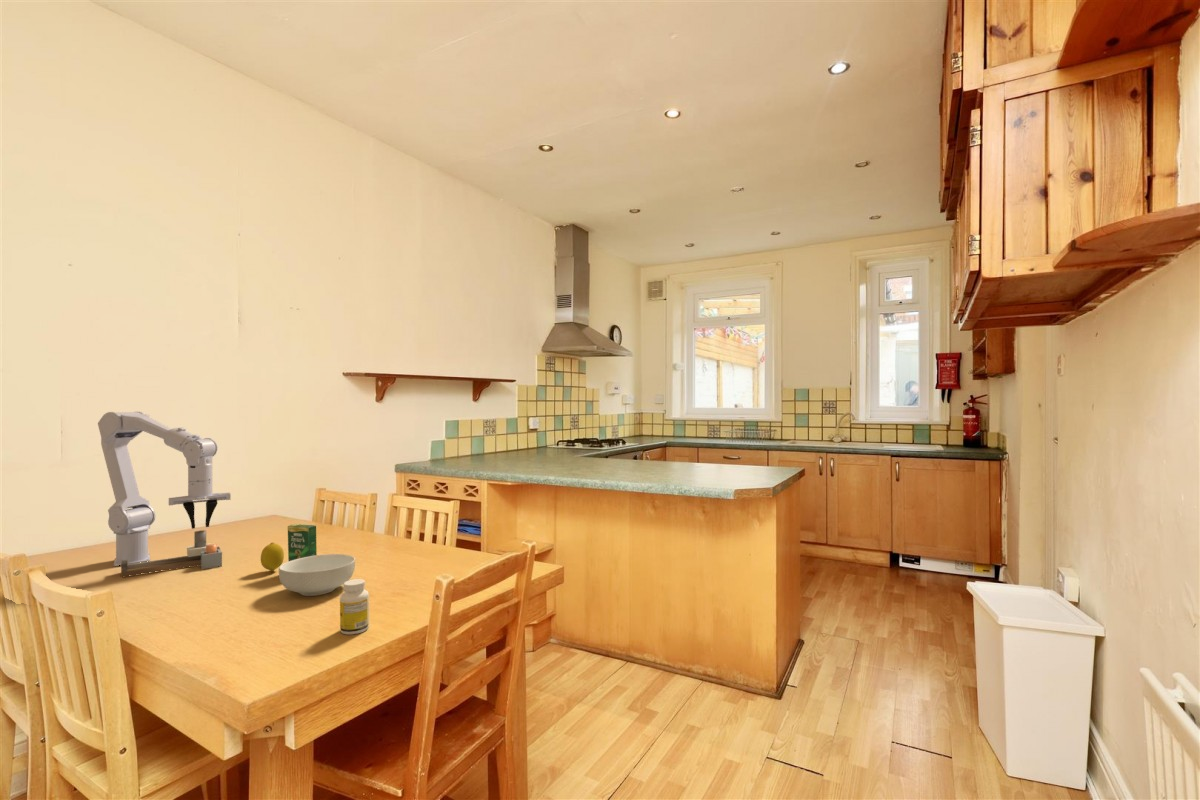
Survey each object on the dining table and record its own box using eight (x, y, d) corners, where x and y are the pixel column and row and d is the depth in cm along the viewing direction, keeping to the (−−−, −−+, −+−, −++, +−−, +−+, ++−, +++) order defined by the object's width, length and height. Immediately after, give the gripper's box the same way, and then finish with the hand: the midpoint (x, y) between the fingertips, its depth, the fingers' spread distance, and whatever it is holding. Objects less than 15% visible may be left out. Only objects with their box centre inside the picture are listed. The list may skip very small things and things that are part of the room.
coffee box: (286, 573, 150) (286, 525, 150) (296, 570, 153) (296, 522, 153) (308, 576, 147) (308, 527, 147) (317, 573, 150) (317, 525, 150)
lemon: (273, 575, 148) (273, 545, 148) (255, 574, 150) (255, 544, 150) (288, 569, 154) (288, 540, 154) (271, 568, 155) (271, 539, 155)
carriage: (187, 553, 160) (187, 531, 160) (212, 549, 164) (212, 528, 164) (188, 557, 156) (188, 534, 156) (213, 553, 160) (213, 531, 160)
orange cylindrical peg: (205, 557, 157) (205, 544, 157) (216, 555, 159) (216, 543, 159) (206, 559, 155) (206, 546, 155) (217, 557, 157) (217, 545, 157)
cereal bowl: (370, 583, 141) (370, 555, 141) (317, 606, 126) (317, 575, 126) (318, 577, 147) (318, 550, 147) (262, 598, 131) (261, 568, 131)
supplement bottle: (345, 625, 115) (345, 578, 115) (372, 624, 115) (372, 577, 115) (335, 636, 109) (335, 586, 109) (363, 634, 110) (363, 585, 110)
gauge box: (200, 565, 157) (200, 551, 157) (220, 562, 160) (220, 549, 160) (202, 569, 154) (202, 555, 154) (221, 566, 157) (221, 552, 157)
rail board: (121, 572, 151) (121, 559, 151) (218, 557, 165) (218, 546, 165) (121, 577, 147) (121, 564, 147) (220, 562, 161) (220, 550, 161)
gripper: (169, 484, 153) (169, 533, 152) (231, 479, 162) (231, 525, 162) (168, 481, 158) (168, 529, 158) (229, 477, 167) (229, 521, 167)
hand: (200, 527), depth 160 cm, fingers open, 3 cm apart
